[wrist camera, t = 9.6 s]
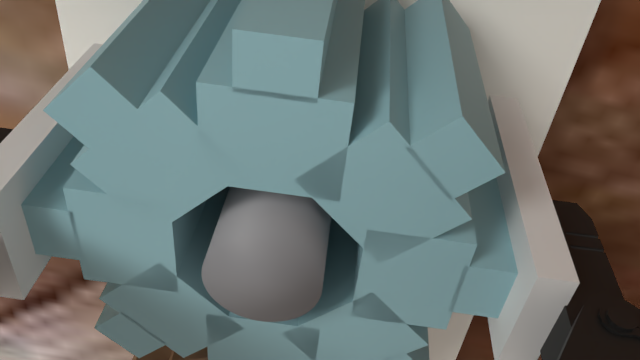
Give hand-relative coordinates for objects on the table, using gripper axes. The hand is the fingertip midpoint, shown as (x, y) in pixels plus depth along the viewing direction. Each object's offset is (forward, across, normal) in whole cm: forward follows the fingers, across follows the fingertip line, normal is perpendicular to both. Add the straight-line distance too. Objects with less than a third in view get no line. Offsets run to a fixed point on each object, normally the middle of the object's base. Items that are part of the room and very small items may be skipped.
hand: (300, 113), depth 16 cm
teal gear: (0, 0, 0) cm, 0 cm away
